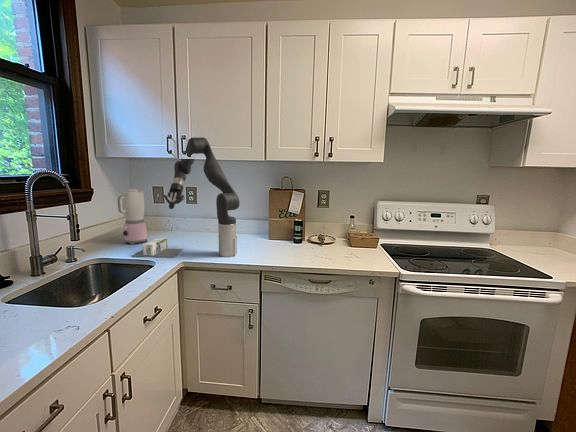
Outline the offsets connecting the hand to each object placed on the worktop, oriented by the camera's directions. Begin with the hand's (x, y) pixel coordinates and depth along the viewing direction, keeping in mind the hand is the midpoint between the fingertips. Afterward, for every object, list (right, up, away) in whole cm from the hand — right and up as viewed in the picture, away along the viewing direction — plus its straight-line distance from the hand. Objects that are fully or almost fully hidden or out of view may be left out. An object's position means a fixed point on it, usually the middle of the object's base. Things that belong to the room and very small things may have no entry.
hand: (170, 208), depth 171 cm
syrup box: (-1, -20, -9) cm, 22 cm away
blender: (-23, -21, +2) cm, 31 cm away
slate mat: (0, -25, -17) cm, 30 cm away
